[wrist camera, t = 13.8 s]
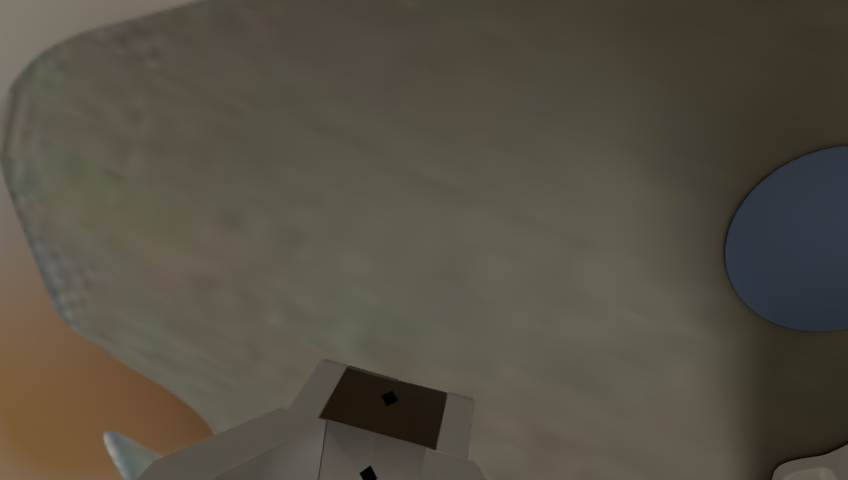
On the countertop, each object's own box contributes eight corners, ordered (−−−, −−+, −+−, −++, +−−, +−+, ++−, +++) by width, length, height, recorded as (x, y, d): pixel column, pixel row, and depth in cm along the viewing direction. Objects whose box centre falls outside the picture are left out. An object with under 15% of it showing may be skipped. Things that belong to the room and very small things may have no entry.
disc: (885, 350, 32) (887, 351, 32) (695, 304, 34) (696, 306, 33) (994, 170, 28) (997, 170, 28) (772, 125, 29) (773, 126, 29)
